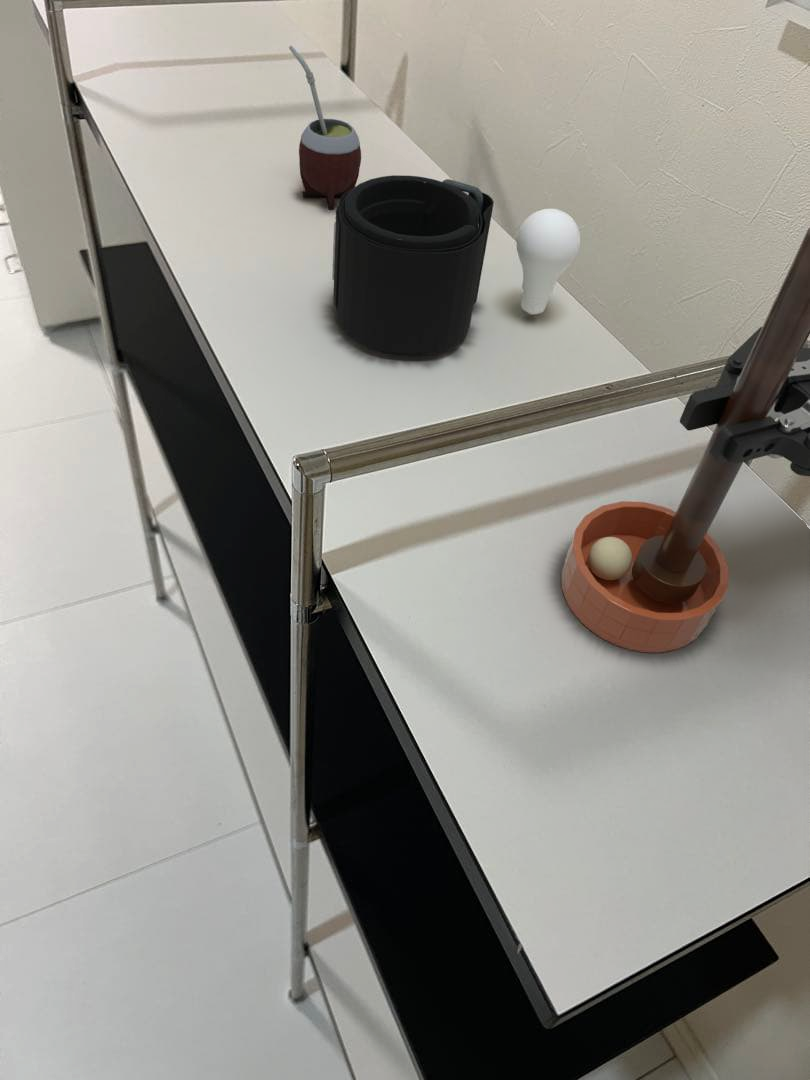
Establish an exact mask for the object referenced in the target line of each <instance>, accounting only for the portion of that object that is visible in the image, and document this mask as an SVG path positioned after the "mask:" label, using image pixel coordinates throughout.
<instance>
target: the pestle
mask: <svg viewBox="0 0 810 1080" xmlns="http://www.w3.org/2000/svg"><path fill="white" fill-rule="evenodd" d="M761 327H762V329H761V331H760V333H759V335H758V337H757V340H756V342H755V344H754V346H753V348H752V350H751V352H750V355H749V357H748V359H747V361H746V363H745V365H744V367H743V370H742V372H741V374H740V376H739V378H738V380H737V382H736V385H735V387H734V389H733V391H732V393H731V395H730V397H729V400H728V402H727V404H726V406H725V408H724V410H723V413H722V415H721V417H720V419H719V421H718V423H717V424H715V425H716V426H715V428H714V429H713V432H712V433H711V436H710V438H709V441H708V442H707V445H706V447H705V449H704V451H703V453H702V455H701V458H700V460H699V462H698V464H697V466H696V468H695V470H694V473H693V475H692V476H691V479H690V480H689V483H688V485H687V488H686V490H685V492H684V494H683V497H682V498H681V501H680V503H679V505H678V507H677V509H676V511H675V512H676V513H675V515H674V518H673V520H672V522H671V524H670V526H669V528H668V530H667V533H666V535H665V536H655V537H652V538H650V539H648V540H646V541H645V542H644V543H643V544H642V546H641V548H640V550H639V552H638V555H637V557H636V559H635V561H634V564H633V566H632V576H633V579H634V581H635V583H636V585H637V586H638V587H639V589H640V590H641V591H643V592H644V593H645V594H646V595H648V596H649V597H651V598H653V599H655V600H658V601H661V602H665V603H681V602H684V601H687V600H688V599H690V598H691V597H692V596H693V595H694V594H695V592H696V590H697V588H698V587H699V585H700V583H701V581H702V579H703V577H704V575H705V573H706V564H705V560H704V558H703V556H702V555H701V553H700V552H699V551H698V549H699V547H700V545H701V543H702V541H703V539H704V537H705V535H706V533H708V531H709V529H710V527H711V525H712V524H713V521H714V520H715V518H716V516H717V514H718V512H719V511H720V508H721V506H722V504H723V502H724V500H725V498H726V497H727V495H728V493H729V490H730V489H731V487H732V485H733V483H734V481H735V479H736V477H737V475H738V473H739V471H740V469H741V467H742V465H743V464H744V462H741V463H729V462H728V461H724V462H720V463H717V462H716V461H715V460H714V459H713V457H712V456H711V455H710V454H709V451H710V449H711V447H712V445H713V443H714V441H715V438H716V436H717V434H718V433H719V432H720V431H721V430H722V429H723V428H725V427H728V426H732V425H736V424H740V423H744V422H748V421H752V420H756V419H763V418H765V417H767V416H768V414H769V412H770V410H771V408H772V406H773V404H774V402H775V400H776V398H777V396H778V394H779V392H780V390H781V389H782V387H783V385H784V383H785V381H786V379H787V377H788V375H789V373H790V371H791V369H792V367H793V365H794V363H795V362H796V360H797V358H798V356H799V354H800V352H801V350H802V348H804V346H805V345H806V343H807V340H808V339H809V337H810V227H808V229H807V230H806V232H805V234H804V237H803V238H802V241H801V243H800V245H799V248H798V250H797V251H796V254H795V256H794V258H793V260H792V263H791V264H790V266H789V269H788V271H787V273H786V275H785V278H784V279H783V281H782V284H781V286H780V288H779V291H778V292H777V295H776V296H775V299H774V301H773V303H772V305H771V308H770V309H769V312H768V314H767V317H766V318H765V320H764V322H763V325H762V326H761Z"/></svg>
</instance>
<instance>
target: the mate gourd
mask: <svg viewBox="0 0 810 1080" xmlns="http://www.w3.org/2000/svg"><path fill="white" fill-rule="evenodd" d="M288 49H289V50H290V52H291V53H292V54H293V56H294V57H295V58H296V60H297V61H298V62H299V64H300V65H301V67H302V69H303V70H304V72H305V78H306V82H307V84H309V87H310V88H309V89H310V92H311V95H312V100H313V102H314V107H315V111H316V114H317V118H318V119H315V120H313V121H311V122H309V124H307V126H306V127H305V129H304V130H303V131H302V133H301V136H300V140H299V145H298V158H299V159H298V160H299V163H298V164H299V166H298V167H299V175H300V180H301V182H302V185H303V189H304V190H302V191H301V193H302V199H324V200H325V201H326V207H327V210H333V211H334V210H335V208H336V206H335V205H336V204H335V200H337V199H338V200H340V198H341V197H342V195H343V194H344V193H346V192H347V191H349V190H350V189H351V188H354V187H356V186H357V182H358V180H359V175H360V168H361V162H362V149H361V142H360V138H359V136H358V133H357V131H356V130H355V128H354V126H352V125H351V124H349V123H348V122H346V121H344V120H340V119H334V118H324V116H323V115H324V114H323V112H322V108H321V104H320V100H319V96H318V92H317V87H316V83H315V82H316V79H315V76H314V73H313V71H311V69H310V67H309V65H308V64H307V62H306V61H305V59H304V58H303V57H302V56H301V55H300V53H299V52H298V51H297V50H296V49H295V48H294V46H293V45H289V47H288Z"/></svg>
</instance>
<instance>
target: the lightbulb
mask: <svg viewBox="0 0 810 1080" xmlns="http://www.w3.org/2000/svg"><path fill="white" fill-rule="evenodd" d="M515 243H516V251H517V256H518V259H519V262H520V264H521V267H522V285H521V288H522V290H523V291H522V297H521V302H520V306H521V308H522V310H523V311H525V312H526V313H527V314H528V315H531V316H532V315H533V316H534V315H538V314H539V315H540V314H542V313H543V312H544V311H545V310H546V307H547V304H548V301H549V298H550V296H551V295H552V294H553V291H554V288H555V286H556V283H557V281H558V280H559V278H560V277H561V275H562V274H563V273H564V272H565V271H566V270H567V269H568V268H569V267H570V266H571V265H572V264H573V262H575V259H576V257H577V255H578V254H579V251H580V246H581V234H580V230H579V226H578V224H577V223H576V221H575V220H574V219H573V218H572V217H571V216H570V215H569V214H568V213H567V212H564V211H563V210H560V209H557V208H543V209H539V210H537V211H534V212H533V213H531V214H530V215H529V216H528V217H526V219H525V220H524V221H523V223H522V224H521V226H520V227H519V230H518V232H517V236H516V242H515Z"/></svg>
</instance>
